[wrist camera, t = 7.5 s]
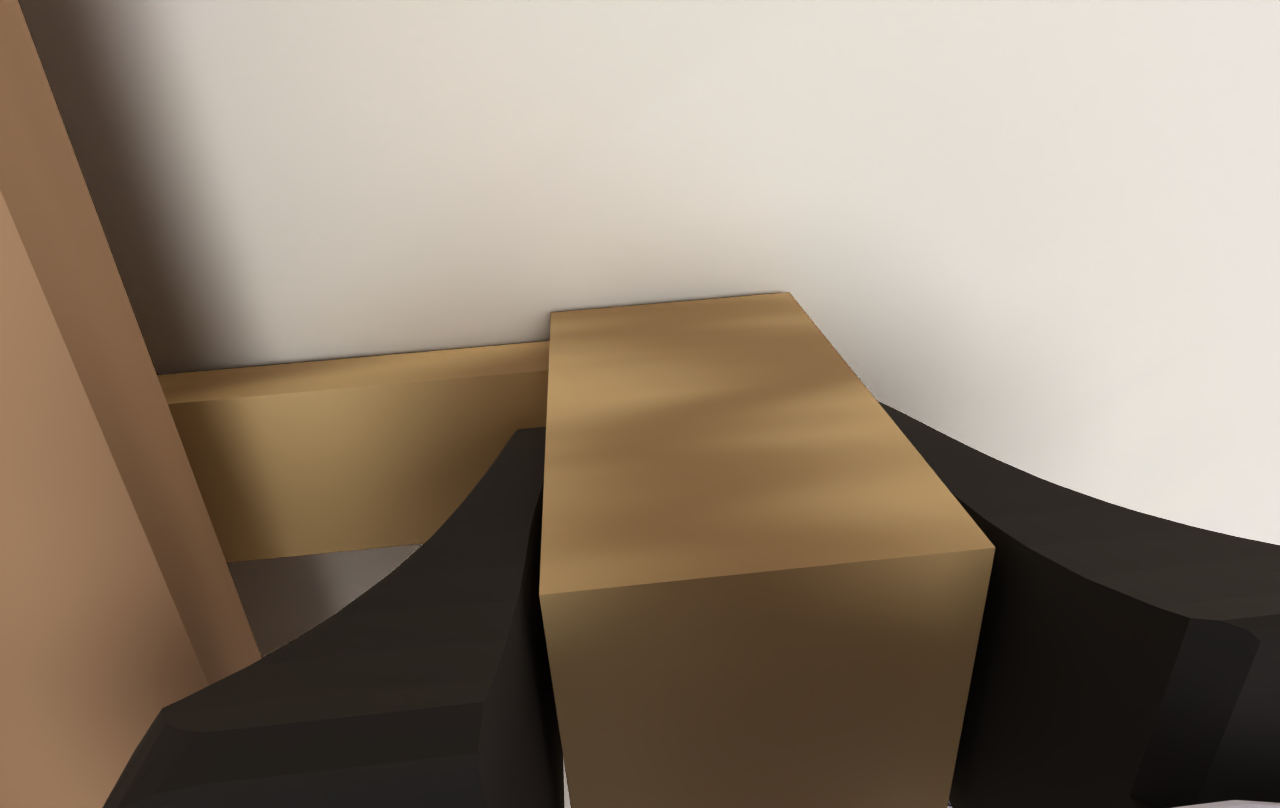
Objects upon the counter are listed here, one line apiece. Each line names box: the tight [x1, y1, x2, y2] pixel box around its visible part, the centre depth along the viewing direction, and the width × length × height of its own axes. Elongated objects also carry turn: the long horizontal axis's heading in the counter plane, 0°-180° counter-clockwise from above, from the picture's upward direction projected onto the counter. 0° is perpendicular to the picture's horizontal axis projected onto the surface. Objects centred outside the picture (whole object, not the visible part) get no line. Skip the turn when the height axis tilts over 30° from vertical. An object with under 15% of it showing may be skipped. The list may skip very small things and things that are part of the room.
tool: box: [157, 292, 995, 808], centre depth 10 cm, size 17×4×7 cm, turn 93°
